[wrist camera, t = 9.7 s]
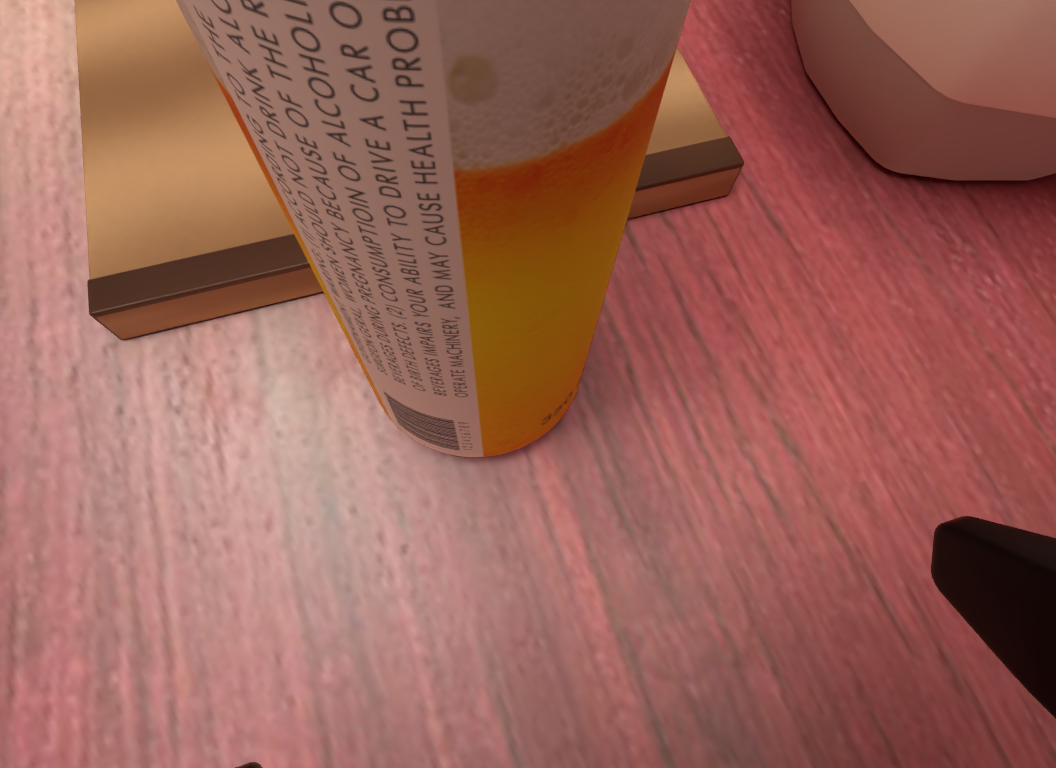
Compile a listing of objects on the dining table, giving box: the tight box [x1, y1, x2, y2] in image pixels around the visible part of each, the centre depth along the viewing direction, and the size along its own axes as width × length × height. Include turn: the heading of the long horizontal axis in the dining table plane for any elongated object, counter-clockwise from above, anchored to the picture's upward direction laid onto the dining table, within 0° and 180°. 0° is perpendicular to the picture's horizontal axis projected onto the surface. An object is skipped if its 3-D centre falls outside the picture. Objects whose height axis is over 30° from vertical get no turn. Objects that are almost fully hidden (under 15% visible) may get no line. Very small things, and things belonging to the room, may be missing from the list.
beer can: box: [176, 0, 690, 457], centre depth 12 cm, size 6×6×15 cm
